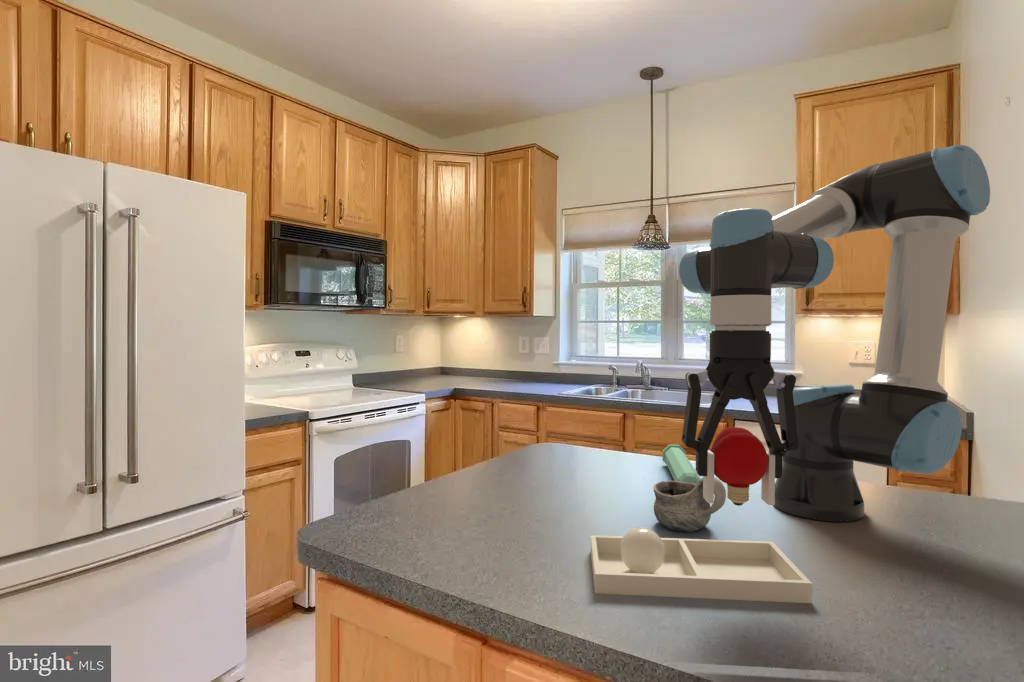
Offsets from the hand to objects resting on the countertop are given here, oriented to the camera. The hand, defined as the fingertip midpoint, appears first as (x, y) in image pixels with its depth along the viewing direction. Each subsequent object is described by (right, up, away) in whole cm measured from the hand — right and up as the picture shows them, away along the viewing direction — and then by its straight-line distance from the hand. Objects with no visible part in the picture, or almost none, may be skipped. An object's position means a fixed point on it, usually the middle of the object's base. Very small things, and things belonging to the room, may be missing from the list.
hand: (737, 500), depth 73 cm
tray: (-6, -11, +1) cm, 12 cm away
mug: (0, -11, +18) cm, 21 cm away
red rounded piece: (0, -1, 0) cm, 1 cm away
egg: (-12, -10, +2) cm, 16 cm away
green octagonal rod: (+8, -10, +50) cm, 51 cm away
